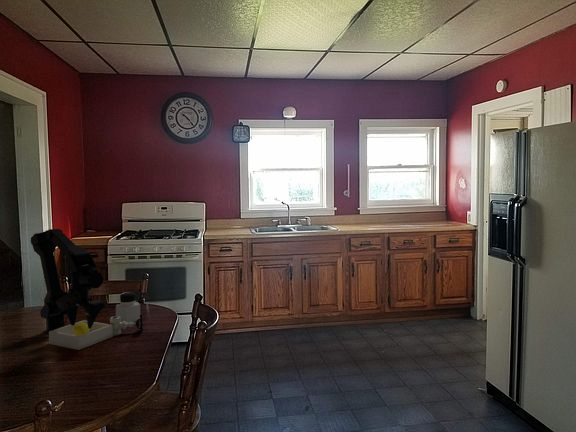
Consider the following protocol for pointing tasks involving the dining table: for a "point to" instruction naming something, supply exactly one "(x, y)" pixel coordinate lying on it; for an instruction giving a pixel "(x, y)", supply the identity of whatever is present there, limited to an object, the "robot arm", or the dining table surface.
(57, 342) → the walled box
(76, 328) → the lemon
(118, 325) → the valve
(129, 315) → the medicine bottle
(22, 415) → the dining table surface
